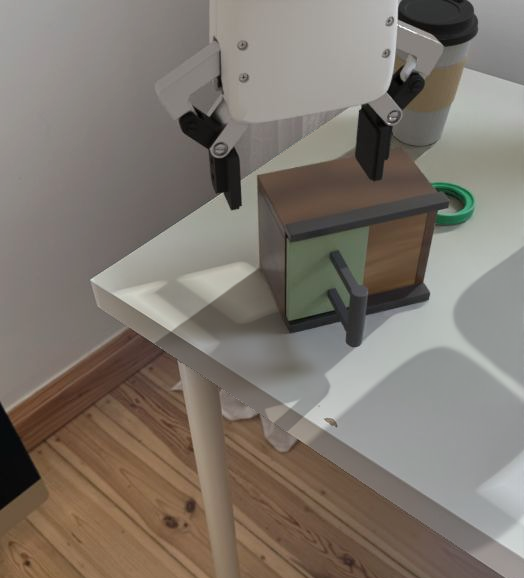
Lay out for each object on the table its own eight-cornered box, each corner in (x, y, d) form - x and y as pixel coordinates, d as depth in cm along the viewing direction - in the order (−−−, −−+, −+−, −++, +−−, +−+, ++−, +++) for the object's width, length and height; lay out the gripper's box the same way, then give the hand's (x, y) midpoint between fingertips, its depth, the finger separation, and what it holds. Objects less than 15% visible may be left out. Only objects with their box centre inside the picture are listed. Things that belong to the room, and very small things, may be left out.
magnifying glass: (470, 192, 80) (474, 179, 79) (476, 227, 76) (479, 214, 75) (332, 186, 82) (333, 173, 80) (330, 220, 78) (331, 207, 76)
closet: (429, 300, 69) (450, 200, 61) (289, 333, 67) (290, 235, 58) (388, 238, 75) (403, 140, 67) (259, 267, 73) (256, 168, 64)
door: (387, 352, 63) (400, 274, 57) (311, 371, 62) (315, 294, 55) (357, 299, 68) (366, 220, 61) (286, 316, 67) (286, 237, 60)
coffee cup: (464, 121, 90) (491, -4, 78) (443, 162, 84) (469, 34, 73) (391, 105, 92) (406, -18, 81) (366, 144, 87) (379, 18, 75)
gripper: (436, -151, 39) (397, 130, 52) (118, -113, 36) (160, 175, 49) (506, -107, 35) (444, 191, 47) (146, -59, 32) (185, 245, 44)
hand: (300, 183), depth 48 cm, fingers open, 9 cm apart
